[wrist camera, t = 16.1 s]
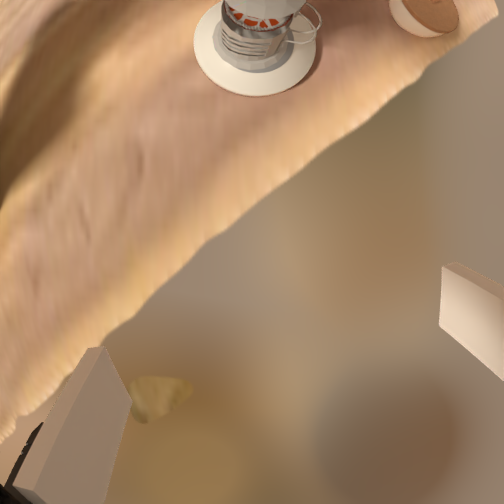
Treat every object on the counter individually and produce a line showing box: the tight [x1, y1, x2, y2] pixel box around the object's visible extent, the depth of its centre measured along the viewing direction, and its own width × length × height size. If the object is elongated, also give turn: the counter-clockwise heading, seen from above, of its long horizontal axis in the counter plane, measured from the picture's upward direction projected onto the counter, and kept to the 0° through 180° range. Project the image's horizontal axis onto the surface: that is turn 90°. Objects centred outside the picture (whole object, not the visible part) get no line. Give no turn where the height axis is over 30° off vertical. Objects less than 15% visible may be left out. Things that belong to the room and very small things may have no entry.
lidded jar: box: [389, 0, 459, 38], centre depth 30 cm, size 11×11×9 cm
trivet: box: [194, 0, 316, 97], centre depth 34 cm, size 16×16×2 cm
